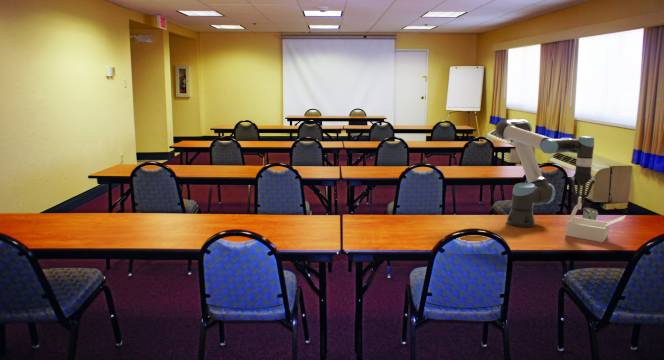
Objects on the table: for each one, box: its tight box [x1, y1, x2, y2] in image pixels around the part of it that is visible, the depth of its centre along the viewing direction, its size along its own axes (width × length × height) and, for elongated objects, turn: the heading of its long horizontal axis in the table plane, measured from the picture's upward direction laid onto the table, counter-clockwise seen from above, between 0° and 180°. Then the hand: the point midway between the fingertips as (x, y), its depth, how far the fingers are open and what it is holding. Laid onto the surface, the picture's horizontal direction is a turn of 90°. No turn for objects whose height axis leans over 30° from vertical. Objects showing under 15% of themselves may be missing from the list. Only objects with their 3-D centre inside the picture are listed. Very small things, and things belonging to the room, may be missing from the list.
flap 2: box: [605, 215, 627, 228], centre depth 265 cm, size 9×13×1 cm
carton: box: [565, 216, 610, 243], centre depth 273 cm, size 18×15×8 cm
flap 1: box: [567, 203, 578, 222], centre depth 276 cm, size 9×13×1 cm
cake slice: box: [582, 207, 599, 221], centre depth 290 cm, size 12×6×10 cm, turn 168°
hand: (579, 208), depth 275 cm, fingers closed
